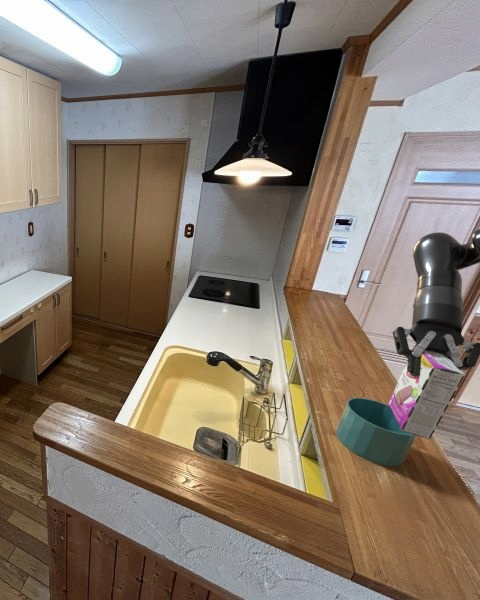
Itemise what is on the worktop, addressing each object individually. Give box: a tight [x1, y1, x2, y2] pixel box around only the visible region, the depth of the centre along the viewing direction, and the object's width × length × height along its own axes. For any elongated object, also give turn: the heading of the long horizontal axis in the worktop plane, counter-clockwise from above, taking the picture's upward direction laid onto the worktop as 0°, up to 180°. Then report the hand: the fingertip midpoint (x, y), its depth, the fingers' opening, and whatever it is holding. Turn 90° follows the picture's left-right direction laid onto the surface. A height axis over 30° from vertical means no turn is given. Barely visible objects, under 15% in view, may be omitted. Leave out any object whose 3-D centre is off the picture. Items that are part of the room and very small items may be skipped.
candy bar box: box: [387, 350, 466, 440], centre depth 71 cm, size 11×5×16 cm, turn 150°
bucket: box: [335, 397, 418, 467], centre depth 86 cm, size 14×14×10 cm
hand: (432, 379), depth 68 cm, fingers closed on candy bar box, 5 cm apart
